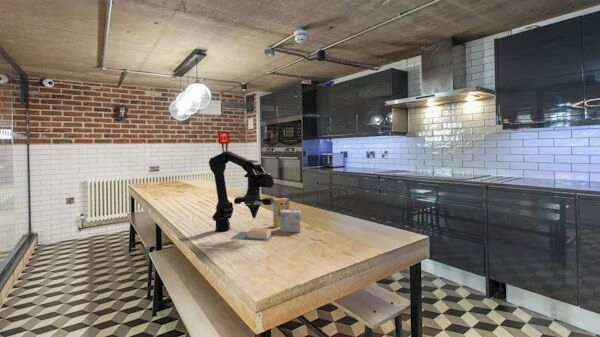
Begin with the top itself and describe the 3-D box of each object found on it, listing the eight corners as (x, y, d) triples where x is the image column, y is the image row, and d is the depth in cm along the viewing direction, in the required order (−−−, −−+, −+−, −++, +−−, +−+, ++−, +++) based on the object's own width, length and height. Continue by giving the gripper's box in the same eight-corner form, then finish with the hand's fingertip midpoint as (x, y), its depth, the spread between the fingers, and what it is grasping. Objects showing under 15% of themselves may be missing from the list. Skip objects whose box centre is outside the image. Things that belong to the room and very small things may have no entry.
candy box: (284, 223, 188) (283, 197, 187) (289, 225, 186) (289, 198, 184) (273, 226, 182) (272, 199, 181) (278, 228, 179) (278, 200, 178)
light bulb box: (301, 229, 176) (301, 209, 175) (300, 232, 169) (300, 212, 168) (282, 229, 177) (281, 209, 176) (280, 232, 170) (279, 211, 170)
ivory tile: (247, 231, 158) (266, 232, 156) (252, 227, 165) (271, 228, 163) (247, 237, 159) (266, 238, 157) (252, 234, 165) (271, 235, 163)
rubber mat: (229, 239, 157) (229, 239, 157) (241, 232, 171) (241, 231, 170) (267, 242, 153) (267, 241, 153) (276, 234, 167) (275, 233, 166)
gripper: (229, 188, 154) (229, 220, 155) (266, 189, 150) (267, 222, 151) (238, 185, 165) (238, 216, 166) (273, 186, 161) (274, 217, 162)
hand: (254, 218), depth 161 cm, fingers closed
